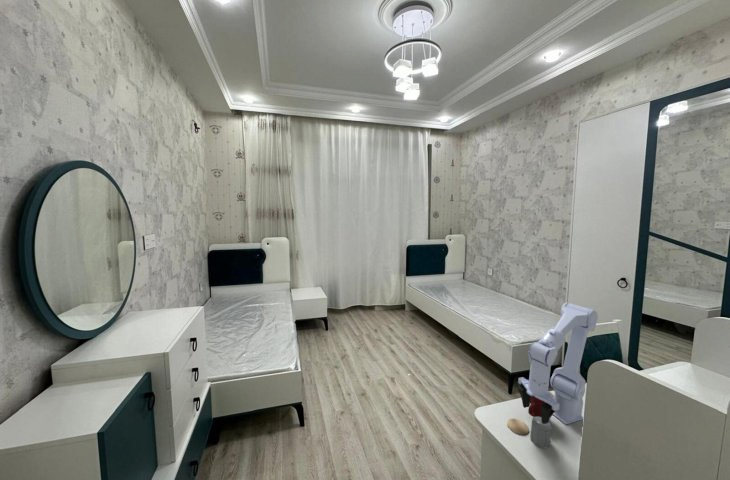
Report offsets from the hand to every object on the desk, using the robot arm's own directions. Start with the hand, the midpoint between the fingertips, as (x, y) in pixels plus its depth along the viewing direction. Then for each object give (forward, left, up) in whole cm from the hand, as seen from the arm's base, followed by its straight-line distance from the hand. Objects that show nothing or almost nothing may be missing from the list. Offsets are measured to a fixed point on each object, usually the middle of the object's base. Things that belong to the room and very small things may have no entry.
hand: (535, 414), depth 100 cm
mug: (-10, -6, -10) cm, 15 cm away
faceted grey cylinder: (-2, +1, -9) cm, 10 cm away
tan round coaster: (+1, -6, -9) cm, 11 cm away
